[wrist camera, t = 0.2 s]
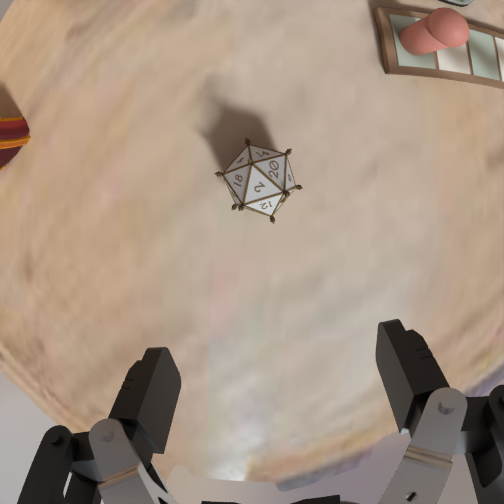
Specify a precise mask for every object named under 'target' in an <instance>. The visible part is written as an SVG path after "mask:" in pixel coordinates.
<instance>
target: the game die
mask: <svg viewBox="0 0 504 504" xmlns="http://www.w3.org/2000/svg"><path fill="white" fill-rule="evenodd" d="M245 142H246V143H245V144H247V146H246V148H245V149H244V150H243V151H242V152H241V153H240V154H239V155H238V157H237V158H236V159H235V160H234V161H233V162H232V163H231V165H230V166H229V167H228V168H227V169H226V170H225V172H224V173H221V172H219V171H218V172H216V173H214V174H216V175H217V177H218V176H223V178H224V180H225V182H226V185H227V187H228V189H229V191H230V193H231V196H232V198H233V200H234V202H235V204H233V206H232V210H235V209H236V208H237V206H239V207H238V209H239V211H240V210H243V208H245V209H249V210H252V211H255V212H258V213H261V214H264V215H267V216H270V220H271V221H270V222H272V223H273V224H274V222H275V219H274V217H273V215H274V214H275V212H276V211H277V210H278V209H279V208H280V206H281V205H282V204H283V203H284V201H285V200H286V199H287V198H288V197H289V196H290V194H291V193H292V192H293V190H294V189H295V188H296V189H299V190H300V189H302V187H301V185H295V181H294V178H293V174H292V171H291V167H290V164H289V161H288V158H287V155H290V153H291V150H292V149H287V151H286V152H285V153H281V152H278V151H274V150H270V149H266V148H261V147H257V146H253V145H250V141H249V139H247V138H246V139H245Z"/></svg>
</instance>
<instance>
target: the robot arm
mask: <svg viewBox="0 0 504 504" xmlns="http://www.w3.org/2000/svg"><path fill="white" fill-rule="evenodd" d="M376 363H377V367H378V370H379V373H380V376H381V378H382V381H383V384H384V387H385V390H386V393H387V396H388V399H389V402H390V405H391V408H392V411H393V414H394V417H395V420H396V423H397V426H398V430H399V432H400V435H401V434H405V433H408V432H409V433H410V436H411V442H410V444H409V446H408V448H407V450H406V452H405V455H404V456H403V458H402V460H401V462H400V464H399V467H398V468H397V470H396V472H395V474H394V476H393V478H392V480H391V481H390V483H389V485H388V487H387V488H386V490H385V492H384V494H383V495H382V497H381V499H380V500H379V502H378V504H437V502H438V500H439V497H440V495H441V493H442V491H443V488H444V486H445V483H446V481H447V479H448V476H449V473H450V471H451V468H452V462H451V459H452V456H453V454H465V457H466V460H467V463H468V467H469V470H470V474H471V477H472V481H473V484H474V489H475V493H476V496H477V501H478V504H504V385H499V386H497V387H495V388H494V389H493V390H492V392H491V393H490V395H489V396H484V397H465V396H464V395H463V394H462V393H461V392H460V391H459V390H457V389H454V388H450V386H449V384H448V382H447V380H446V379H445V377H444V375H443V373H442V371H441V369H440V367H439V365H438V363H437V362H436V360H435V358H434V357H433V354H432V352H431V351H430V349H428V345H427V344H426V342H425V340H424V338H423V337H422V336H421V335H420V334H418V333H417V332H416V331H414V330H413V329H412V330H408V331H406V330H405V329H404V327H403V325H402V323H401V321H400V320H399V319H395V320H390V321H385V322H380V323H379V325H378V334H377V344H376ZM180 389H181V377H180V373H179V371H178V369H177V367H176V365H175V362H174V360H173V358H172V356H171V354H170V351H169V349H168V348H167V347H155V348H147V350H146V352H145V354H144V356H143V358H142V360H138V361H137V362H136V363H135V364H134V365H133V366H132V367H131V368H130V369H129V371H128V373H127V375H126V377H125V381H124V382H123V384H122V386H121V389H120V391H119V393H118V396H117V398H116V400H115V403H114V405H113V407H112V410H111V412H110V414H109V417H108V419H103V420H100V421H98V422H97V423H96V424H94V425H93V427H92V428H91V430H90V431H88V432H81V433H74V434H72V433H71V432H70V430H69V429H68V428H66V427H65V426H62V425H58V426H54V427H52V428H50V429H49V430H48V431H47V432H46V433H45V435H44V437H43V439H42V441H41V444H40V446H39V448H38V450H37V453H36V455H35V457H34V460H33V462H32V465H31V467H30V470H29V473H28V475H27V478H26V481H25V483H24V485H23V488H22V491H21V494H20V497H19V499H18V502H17V504H100V503H101V499H103V502H104V504H179V503H178V502H177V501H176V500H175V499H174V497H173V496H172V494H171V493H170V491H169V489H168V488H167V486H166V484H165V482H164V481H163V479H162V477H161V476H160V474H159V472H158V470H157V468H156V467H155V465H154V463H153V461H152V460H151V459H152V455H153V453H157V454H164V451H165V447H166V443H167V439H168V435H169V431H170V427H171V423H172V419H173V415H174V412H175V408H176V404H177V400H178V396H179V393H180ZM69 472H71V473H72V476H71V479H70V482H69V486H68V489H67V492H66V495H65V498H64V495H63V491H64V487H65V484H66V481H67V478H68V474H69ZM201 504H238V503H235V502H210V501H202V503H201ZM291 504H358V503H354V502H348V501H340V495H333V496H327V497H320V498H312V499H305V500H301V501H298V502H295V503H291Z"/></svg>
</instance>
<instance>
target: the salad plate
mask: <svg viewBox="0 0 504 504" xmlns="http://www.w3.org/2000/svg"><path fill="white" fill-rule="evenodd" d="M439 1H442V2H445V3H448V4H452V5H456V6H460V7H464V6H467V5H468V4H470V3H471V2H472V1H473V0H439Z"/></svg>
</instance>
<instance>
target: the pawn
mask: <svg viewBox="0 0 504 504" xmlns="http://www.w3.org/2000/svg"><path fill="white" fill-rule="evenodd" d="M469 33H470V31H469V26H468V24H467V22H466V20H465V19H464V17H463V16H462V15H461V14H460V13H458V12H457V11H455V10H453V9H450V8H438V9H436V10H434V11H433V12H432V13H431V14H430V15H428V16H426V17H424V18H422V19H420V20H418V21H416V22H414V23H412V24H411V25H409V26H407V27H405V28H403V29H402V30H401V32H400V35H399V38H400V42H401V45H402V46H403V48H404V49H405V50H406V51H407V52H408V53H410V54H412V55H415V56H420V55H423V54H427V53H430V52H434V51H437V50H441V49H444V48H448V47H460V46H462V45H464V44H465V43H466V42H467V40H468V38H469Z"/></svg>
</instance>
